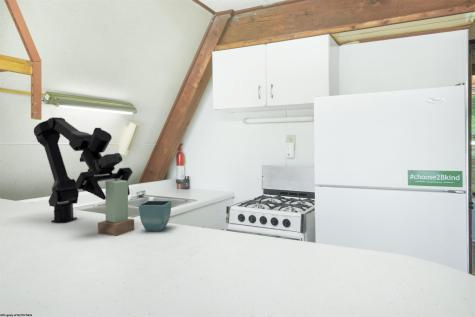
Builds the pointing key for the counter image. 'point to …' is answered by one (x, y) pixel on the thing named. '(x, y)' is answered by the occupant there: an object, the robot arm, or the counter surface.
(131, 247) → the counter surface
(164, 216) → the flower pot
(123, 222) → the walnut block
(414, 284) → the counter surface
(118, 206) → the sage pillar
